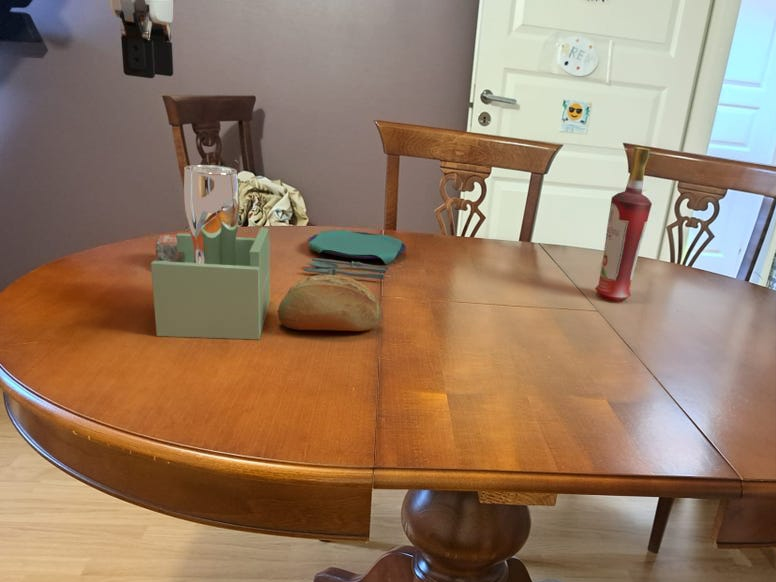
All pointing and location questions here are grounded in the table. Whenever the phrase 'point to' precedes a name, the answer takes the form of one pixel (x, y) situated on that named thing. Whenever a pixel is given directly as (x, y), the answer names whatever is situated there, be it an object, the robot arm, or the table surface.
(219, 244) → the beer glass
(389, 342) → the table surface
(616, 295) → the liquor
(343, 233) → the cutlery set
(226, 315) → the green boxy piece
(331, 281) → the bread roll
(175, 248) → the packaged product
